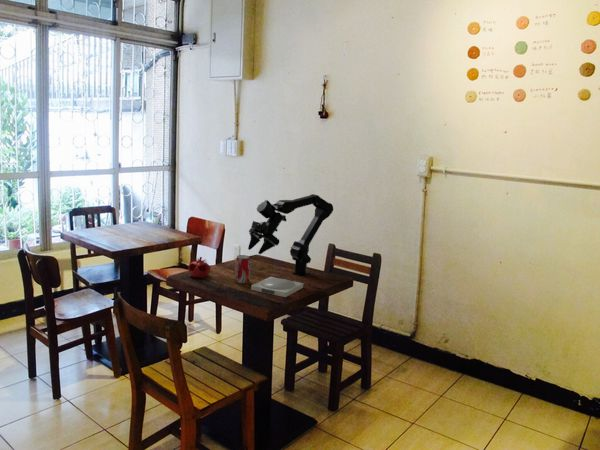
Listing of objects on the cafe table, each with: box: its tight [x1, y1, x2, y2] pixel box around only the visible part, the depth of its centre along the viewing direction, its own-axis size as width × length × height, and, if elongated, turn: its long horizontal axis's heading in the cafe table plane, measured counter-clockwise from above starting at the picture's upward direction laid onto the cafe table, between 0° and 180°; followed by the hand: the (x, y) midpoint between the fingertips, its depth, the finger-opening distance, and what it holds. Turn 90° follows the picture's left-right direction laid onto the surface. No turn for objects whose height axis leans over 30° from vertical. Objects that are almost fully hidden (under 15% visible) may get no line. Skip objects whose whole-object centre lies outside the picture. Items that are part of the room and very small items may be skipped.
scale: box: [250, 276, 304, 298], centre depth 233 cm, size 17×17×2 cm
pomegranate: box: [188, 256, 211, 279], centre depth 245 cm, size 10×10×9 cm
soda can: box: [234, 254, 252, 284], centre depth 239 cm, size 7×7×12 cm
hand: (253, 251), depth 241 cm, fingers open, 9 cm apart
